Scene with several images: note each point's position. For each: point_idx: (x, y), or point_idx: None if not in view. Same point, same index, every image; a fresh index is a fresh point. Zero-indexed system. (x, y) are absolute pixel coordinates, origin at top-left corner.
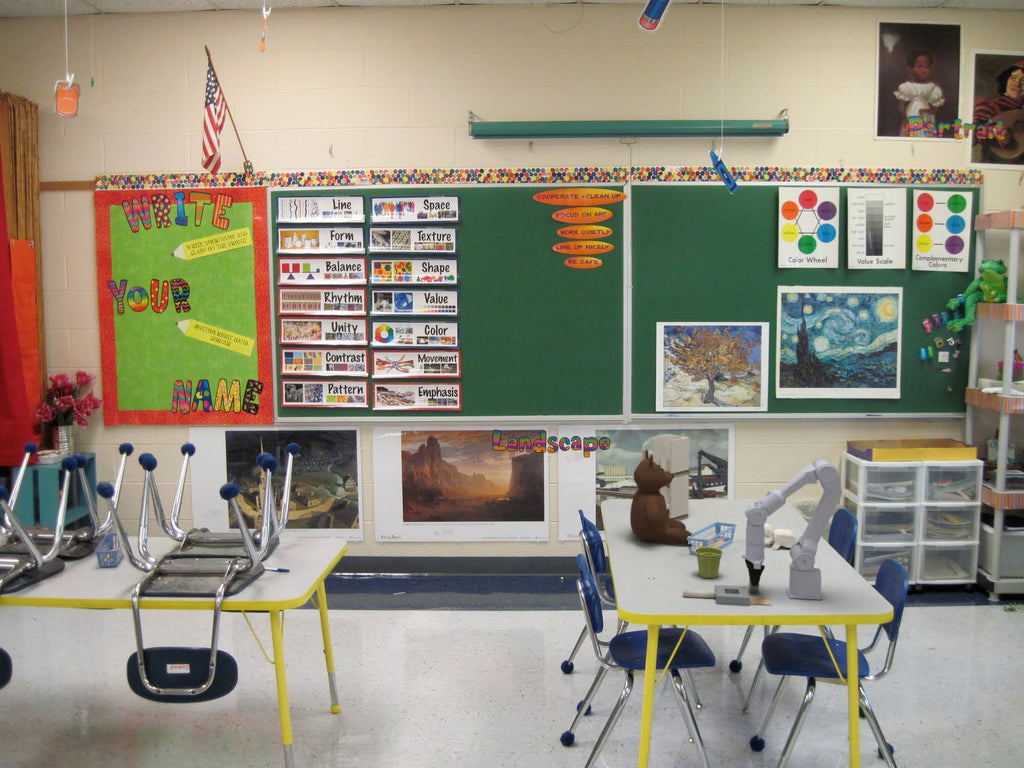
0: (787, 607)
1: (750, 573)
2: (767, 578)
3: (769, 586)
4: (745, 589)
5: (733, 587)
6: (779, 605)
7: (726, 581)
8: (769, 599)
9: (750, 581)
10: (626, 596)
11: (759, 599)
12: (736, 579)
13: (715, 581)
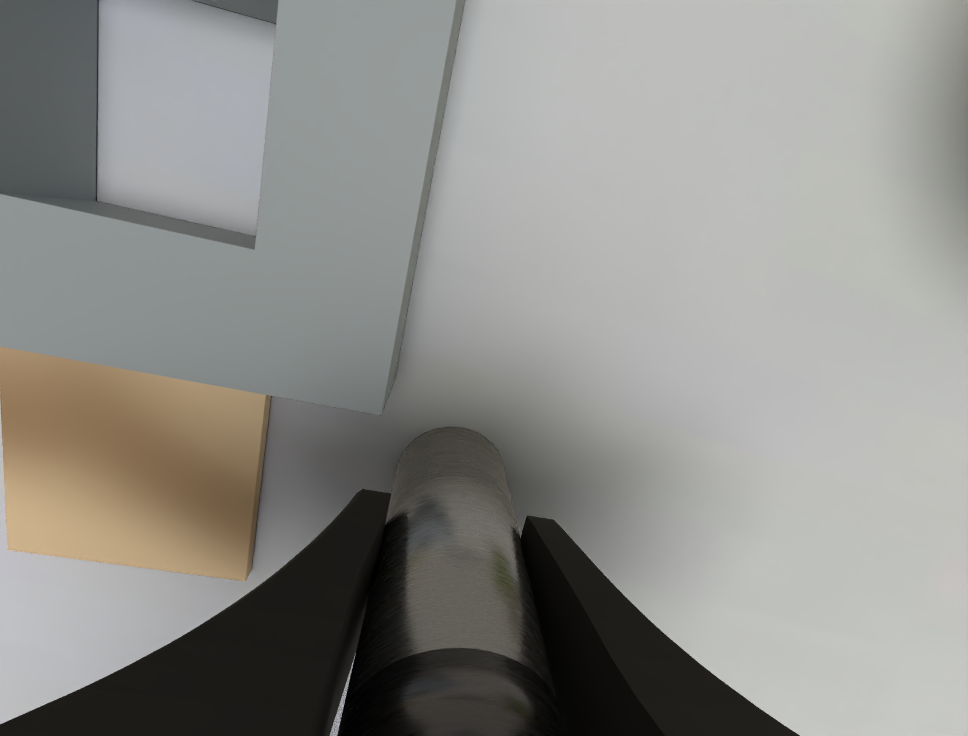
0: (2, 670)
1: (206, 633)
2: (815, 693)
3: None
4: (245, 360)
5: (339, 187)
6: (50, 616)
7: (859, 269)
8: (176, 571)
9: (422, 514)
10: None
11: (164, 469)
12: (883, 409)
13: (904, 114)
